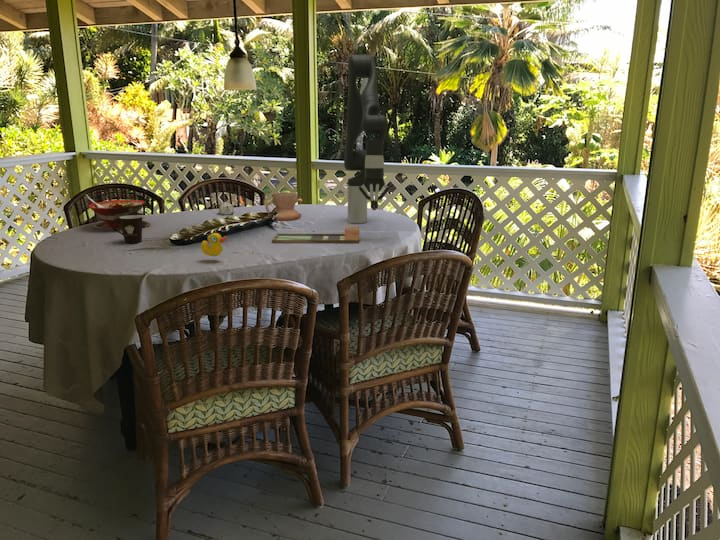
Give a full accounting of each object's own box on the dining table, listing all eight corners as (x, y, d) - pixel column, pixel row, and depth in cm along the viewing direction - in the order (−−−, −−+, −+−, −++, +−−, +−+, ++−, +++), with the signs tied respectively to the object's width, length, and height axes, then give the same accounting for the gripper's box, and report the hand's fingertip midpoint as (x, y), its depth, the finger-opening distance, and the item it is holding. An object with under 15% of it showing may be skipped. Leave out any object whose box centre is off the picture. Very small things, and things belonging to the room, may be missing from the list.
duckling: (229, 255, 210) (228, 232, 208) (224, 257, 206) (223, 234, 203) (205, 254, 211) (203, 231, 209) (199, 256, 207) (197, 233, 205)
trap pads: (312, 236, 243) (312, 235, 243) (340, 237, 243) (340, 235, 243) (309, 242, 232) (309, 241, 232) (339, 242, 232) (339, 241, 232)
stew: (73, 232, 253) (68, 195, 249) (113, 223, 275) (110, 189, 271) (124, 236, 244) (120, 198, 240) (161, 227, 265) (158, 192, 261)
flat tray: (276, 236, 244) (276, 233, 244) (359, 236, 244) (359, 233, 244) (272, 243, 231) (271, 240, 231) (359, 243, 231) (359, 240, 231)
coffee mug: (149, 240, 236) (147, 215, 233) (134, 244, 228) (132, 219, 225) (126, 238, 240) (123, 214, 237) (111, 242, 232) (108, 217, 229)
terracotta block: (344, 237, 240) (344, 226, 239) (359, 237, 240) (359, 226, 239) (344, 240, 235) (344, 229, 233) (359, 240, 235) (359, 229, 233)
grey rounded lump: (231, 221, 281) (229, 200, 278) (214, 220, 283) (213, 200, 280) (238, 218, 289) (237, 198, 287) (222, 217, 291) (221, 198, 289)
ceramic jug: (299, 219, 288) (298, 190, 284) (306, 224, 274) (305, 194, 271) (263, 221, 282) (262, 192, 279) (268, 226, 269) (267, 195, 265)
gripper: (390, 166, 234) (389, 208, 238) (357, 166, 234) (357, 208, 238) (391, 167, 227) (390, 211, 231) (357, 167, 227) (357, 211, 231)
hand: (374, 209), depth 234 cm, fingers closed
